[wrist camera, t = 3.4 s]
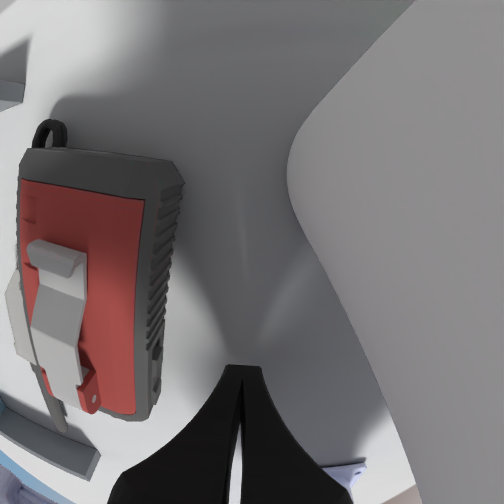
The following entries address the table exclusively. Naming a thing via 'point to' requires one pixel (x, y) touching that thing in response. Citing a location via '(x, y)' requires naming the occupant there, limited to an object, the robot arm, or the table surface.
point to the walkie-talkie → (92, 274)
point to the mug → (420, 233)
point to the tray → (21, 429)
